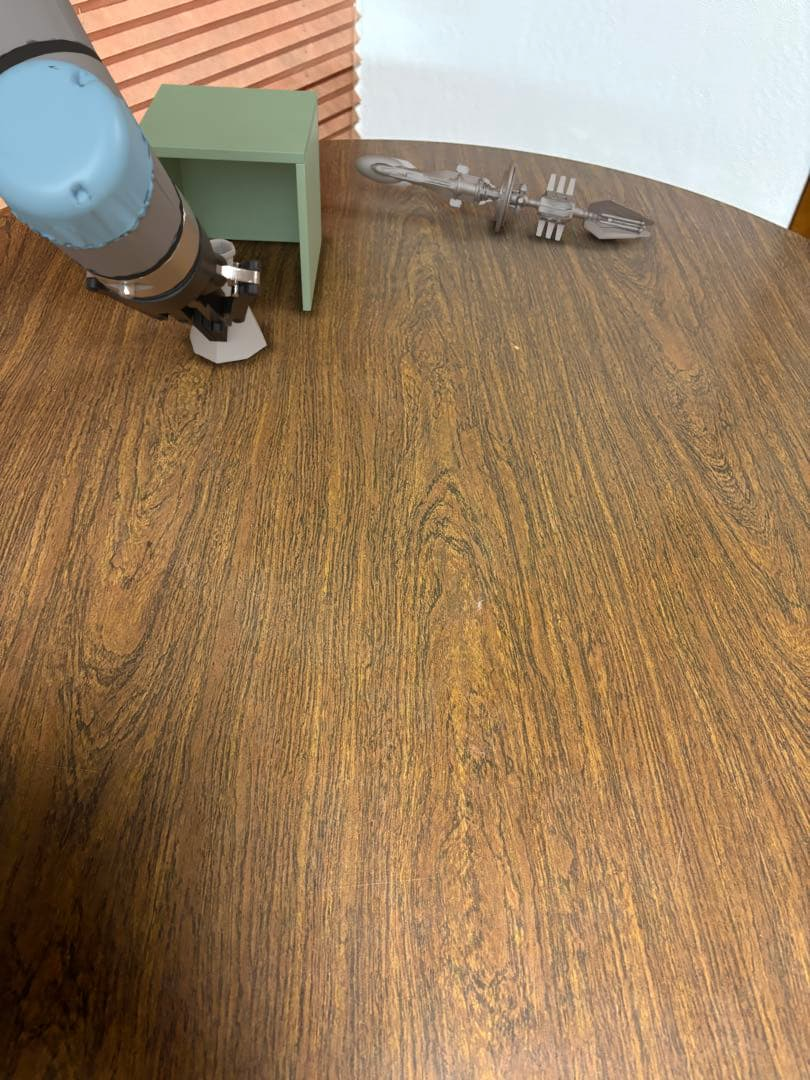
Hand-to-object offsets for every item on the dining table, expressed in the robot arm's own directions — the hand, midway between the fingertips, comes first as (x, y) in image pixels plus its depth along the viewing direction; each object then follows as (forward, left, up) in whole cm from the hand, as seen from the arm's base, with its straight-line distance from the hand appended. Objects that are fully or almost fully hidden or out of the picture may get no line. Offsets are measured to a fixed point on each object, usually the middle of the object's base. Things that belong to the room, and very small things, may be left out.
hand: (218, 326), depth 79 cm
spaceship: (+10, +39, -4) cm, 40 cm away
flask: (-1, +3, -4) cm, 5 cm away
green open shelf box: (-8, +14, -4) cm, 17 cm away
